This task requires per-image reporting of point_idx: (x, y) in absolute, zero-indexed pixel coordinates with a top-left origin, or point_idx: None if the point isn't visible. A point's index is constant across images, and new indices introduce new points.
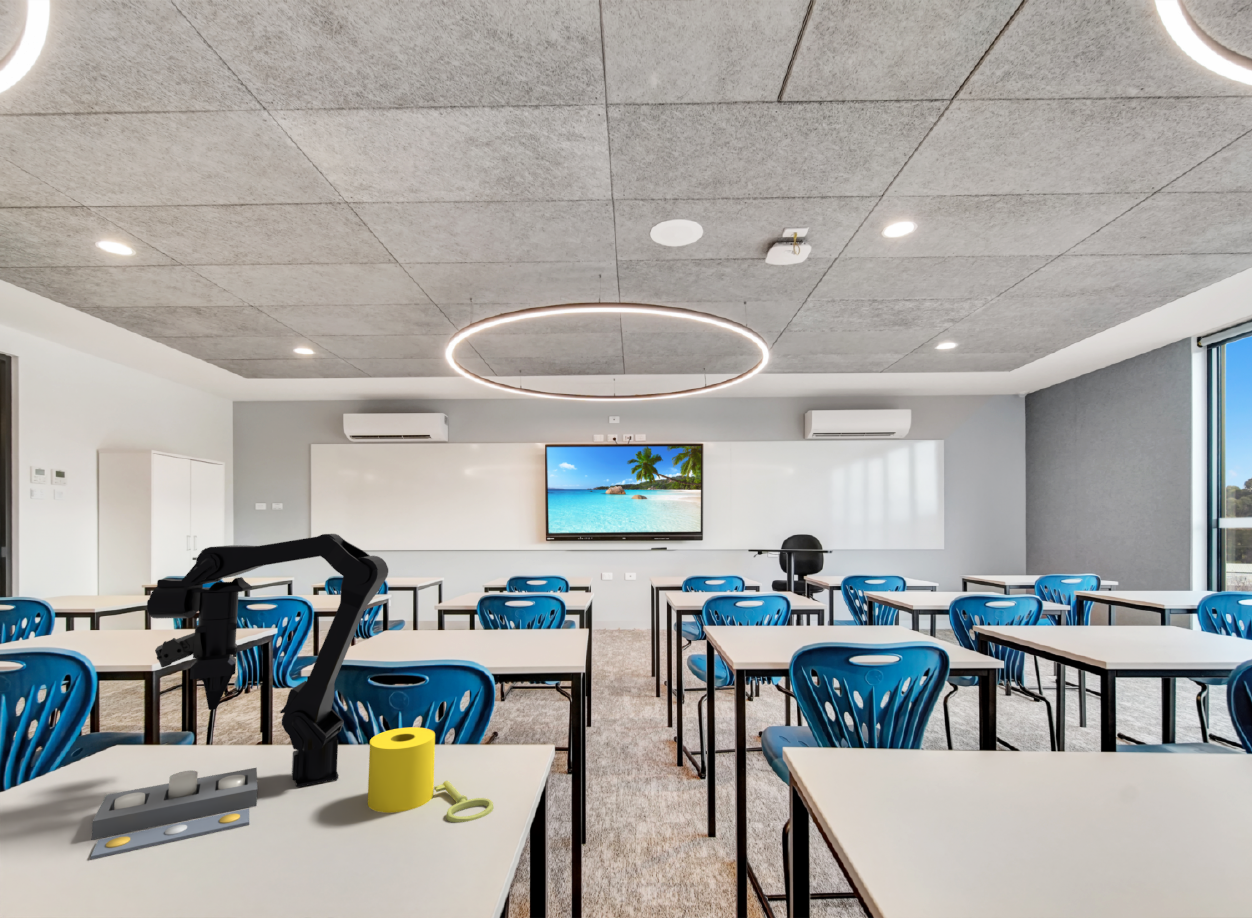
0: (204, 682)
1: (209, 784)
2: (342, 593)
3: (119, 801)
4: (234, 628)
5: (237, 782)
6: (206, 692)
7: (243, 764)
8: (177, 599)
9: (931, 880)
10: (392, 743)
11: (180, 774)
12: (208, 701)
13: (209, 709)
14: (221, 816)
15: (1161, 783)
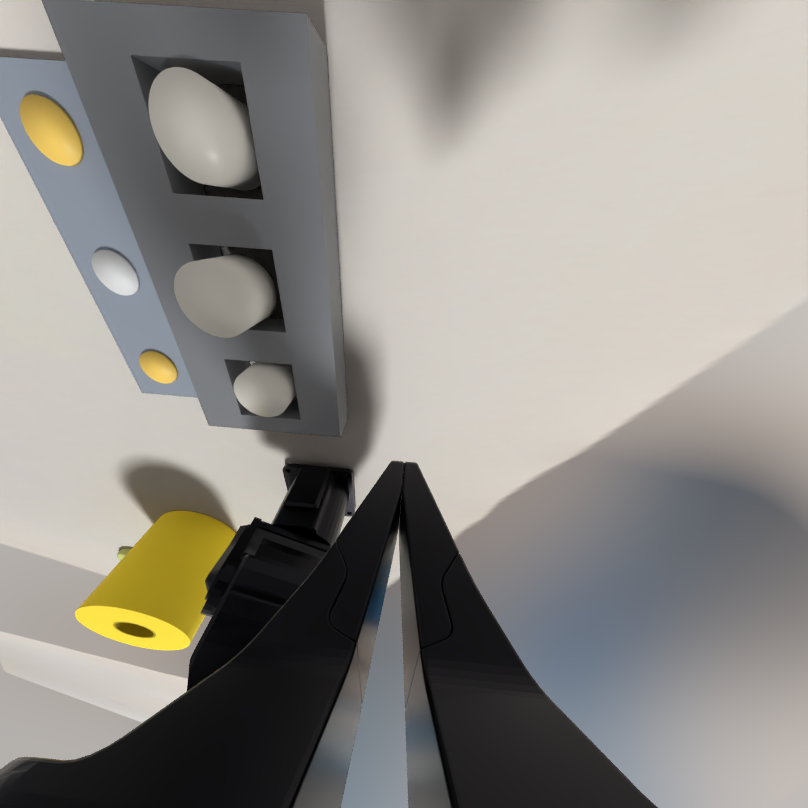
0: (255, 642)
1: (271, 350)
2: None
3: (167, 90)
4: None
5: (240, 401)
6: (334, 544)
7: (481, 410)
8: None
9: (20, 645)
10: (105, 619)
11: (221, 293)
12: (368, 494)
13: (392, 462)
14: (174, 355)
15: (129, 710)
